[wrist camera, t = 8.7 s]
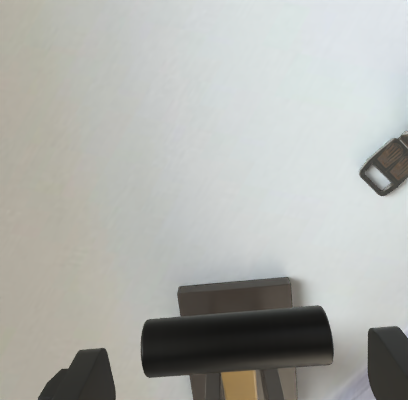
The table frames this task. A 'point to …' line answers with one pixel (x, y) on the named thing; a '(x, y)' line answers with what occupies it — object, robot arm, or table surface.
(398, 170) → the strap clip
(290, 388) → the lever stand
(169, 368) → the lever handle
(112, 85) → the table surface
